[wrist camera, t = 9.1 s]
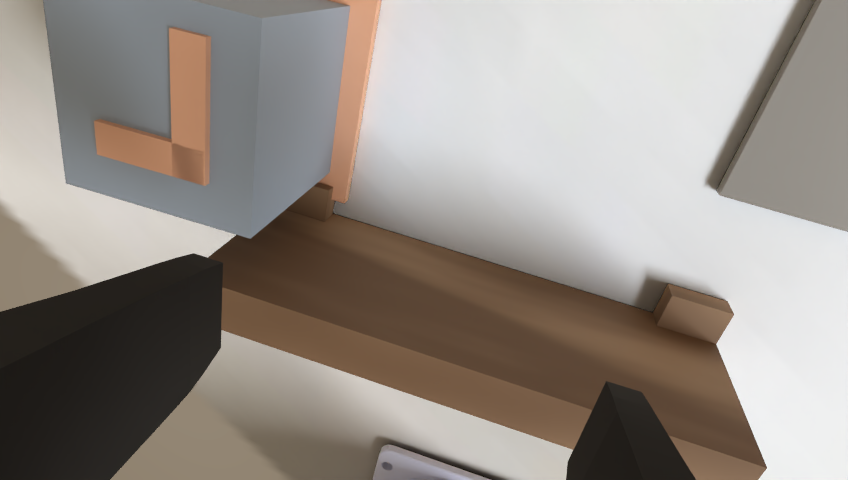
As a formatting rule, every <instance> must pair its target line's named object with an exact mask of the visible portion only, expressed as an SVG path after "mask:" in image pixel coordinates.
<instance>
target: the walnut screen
mask: <svg viewBox="0 0 848 480" xmlns="http://www.w3.org/2000/svg"><path fill="white" fill-rule="evenodd" d="M332 192H333V187H332V186H328V185H325V184H322V183H319V182H318V183H317V184H315V185H314V186H313V187H312V188H311V189H309V190H308V191H307V192H306V193H305V194H303V195H302V196H301V197H300V198H299V199H297V200H296V201H295V202H294V203H293V204H291V205H290V206H289V207H288V208H287V209H285V210H284V211H283V212H282V213H281V214H280V215H278V216H277V217H276V218H275V219H274V220H272V221H271V222H270V223H269V224H268V225H266V226H265V227H264V228H263V229H262V230H260V231H259V232H258V233H257V234H256V235H254V236H253V237H252V238H251V239H250V238H246V237H243V236H240V235H236V236H235V237H233V238H232V239H231V240H230V241H228V242H227V243H226V244H225V245H223V246H222V247H221V248H220V249H218V250H217V251H216V252H214V253H213V254H212V255H211V256H209V257H208V258H210V259H213V260H216V261H220V262H223V284H222V318H221V330H224V331H227V332H230V333H233V334H235V335H238V336H241V337H244V338H247V339H250V340H253V341H256V342H259V343H262V344H265V345H268V346H271V347H274V348H277V349H279V350H282V351H285V352H288V353H291V354H294V355H297V356H300V357H303V358H306V359H309V360H312V361H315V362H318V363H321V364H324V365H326V366H329V367H332V368H335V369H338V370H341V371H344V372H347V373H350V374H353V375H356V376H359V377H362V378H365V379H368V380H370V381H373V382H376V383H379V384H382V385H385V386H388V387H391V388H394V389H397V390H400V391H403V392H406V393H409V394H412V395H414V396H417V397H420V398H423V399H426V400H429V401H432V402H435V403H438V404H441V405H444V406H447V407H450V408H453V409H456V410H459V411H461V412H464V413H467V414H470V415H473V416H476V417H479V418H482V419H485V420H488V421H491V422H494V423H497V424H500V425H503V426H505V427H508V428H511V429H514V430H517V431H520V432H523V433H526V434H529V435H532V436H535V437H538V438H541V439H544V440H547V441H549V442H552V443H555V444H558V445H561V446H564V447H567V448H570V449H573V450H574V448H575V446H576V444H577V442H578V439H579V437H580V435H581V433H582V431H583V429H584V427H585V425H586V423H587V420H588V418H589V416H590V414H591V412H592V410H593V408H594V406H595V404H596V401H597V399H598V397H599V395H600V393H601V391H602V389H603V387H604V385H605V382H606V381H608V382H611V383H614V384H618V385H621V386H624V387H627V388H631V389H634V390H637V391H640V392H642V393H643V395H644V396H645V398H646V399H647V401H648V402H649V404H650V406H651V407H652V409H653V410H654V412H655V414H656V415H657V417H658V419H659V420H660V422H661V424H662V425H663V427H664V429H665V430H666V432H667V433H668V435H669V437H670V438H671V440H672V442H673V443H674V445H675V447H676V448H677V450H678V451H679V453H680V455H681V456H682V458H683V460H684V461H685V463H686V464H687V466H688V468H689V469H690V471H691V472H692V474H693V476H694V477H695V479H696V480H758V479H759V478H760V476H761V475H762V474H763V473H764V471H765V470H766V469H767V467H766V464H765V462H764V460H763V457H762V455H761V452H760V450H759V447H758V445H757V443H756V440H755V438H754V435H753V433H752V430H751V428H750V426H749V423H748V421H747V418H746V416H745V413H744V411H743V409H742V406H741V404H740V401H739V399H738V396H737V394H736V392H735V389H734V387H733V384H732V382H731V379H730V377H729V375H728V372H727V370H726V367H725V365H724V363H723V360H722V358H721V355H720V353H719V350H718V348H717V346H716V343H717V342H718V340H719V338H720V337H721V335H722V333H723V332H724V330H725V329H726V327H727V325H728V324H729V322H730V320H731V319H732V317H733V315H734V313H733V311H732V309H731V307H730V305H729V303H728V301H724V300H721V299H718V298H714V297H711V296H708V295H704V294H701V293H698V292H695V291H691V290H688V289H685V288H681V287H678V286H675V285H671V284H668V285H667V287H666V288H665V290H664V292H663V294H662V296H661V298H660V300H659V302H658V304H657V306H656V308H655V310H654V312H653V313H652V312H649V311H646V310H642V309H639V308H636V307H633V306H630V305H626V304H623V303H620V302H617V301H613V300H610V299H607V298H604V297H601V296H597V295H594V294H591V293H588V292H584V291H581V290H578V289H575V288H571V287H568V286H565V285H562V284H559V283H555V282H552V281H549V280H546V279H542V278H539V277H536V276H533V275H529V274H526V273H523V272H520V271H517V270H513V269H510V268H507V267H504V266H500V265H497V264H494V263H491V262H487V261H484V260H481V259H478V258H475V257H471V256H468V255H465V254H462V253H458V252H455V251H452V250H449V249H446V248H442V247H439V246H436V245H433V244H429V243H426V242H423V241H420V240H416V239H413V238H410V237H407V236H404V235H400V234H397V233H394V232H391V231H387V230H384V229H381V228H378V227H374V226H371V225H368V224H365V223H362V222H358V221H355V220H352V219H349V218H345V217H342V216H339V215H336V214H333V209H334V202H335V200H331V199H332Z"/></svg>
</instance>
